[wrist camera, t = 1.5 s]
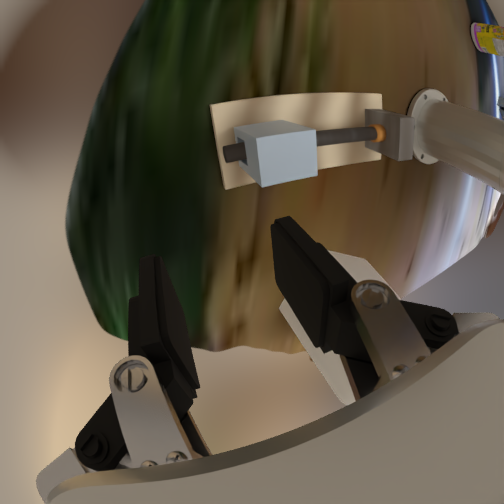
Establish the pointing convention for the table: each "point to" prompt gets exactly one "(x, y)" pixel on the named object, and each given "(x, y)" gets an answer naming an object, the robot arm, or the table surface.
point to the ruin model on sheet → (501, 102)
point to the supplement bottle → (488, 38)
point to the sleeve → (278, 151)
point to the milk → (330, 361)
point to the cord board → (316, 128)
